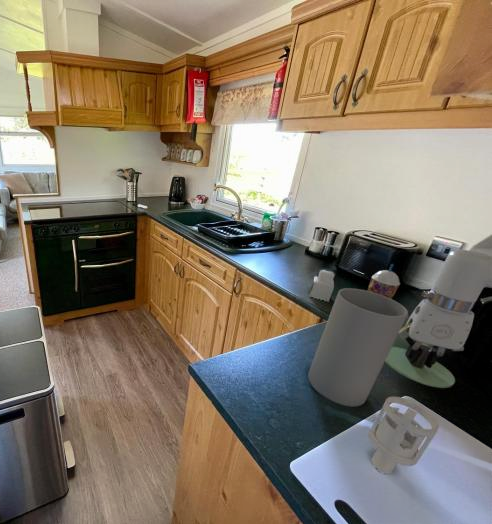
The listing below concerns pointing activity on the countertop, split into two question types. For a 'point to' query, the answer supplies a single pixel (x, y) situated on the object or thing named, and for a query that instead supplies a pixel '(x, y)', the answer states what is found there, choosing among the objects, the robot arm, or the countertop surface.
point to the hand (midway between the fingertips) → (418, 361)
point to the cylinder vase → (355, 345)
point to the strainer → (400, 435)
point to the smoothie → (384, 283)
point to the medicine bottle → (323, 285)
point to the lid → (420, 368)
